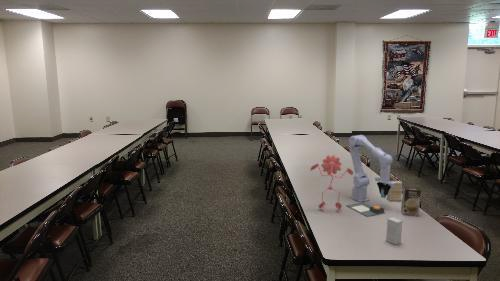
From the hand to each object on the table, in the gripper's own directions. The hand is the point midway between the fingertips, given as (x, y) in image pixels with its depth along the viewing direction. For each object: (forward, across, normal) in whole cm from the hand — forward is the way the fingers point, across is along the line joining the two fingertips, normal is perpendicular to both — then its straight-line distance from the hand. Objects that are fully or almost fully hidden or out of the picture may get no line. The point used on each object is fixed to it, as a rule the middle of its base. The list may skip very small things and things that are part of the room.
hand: (383, 194), depth 234 cm
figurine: (+9, -12, -32) cm, 36 cm away
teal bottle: (+2, 0, 0) cm, 2 cm away
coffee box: (+9, +14, +8) cm, 19 cm away
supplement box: (+9, -8, +17) cm, 21 cm away
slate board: (+9, -2, -13) cm, 16 cm away
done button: (+7, +5, -9) cm, 13 cm away
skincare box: (+9, +39, -30) cm, 50 cm away
